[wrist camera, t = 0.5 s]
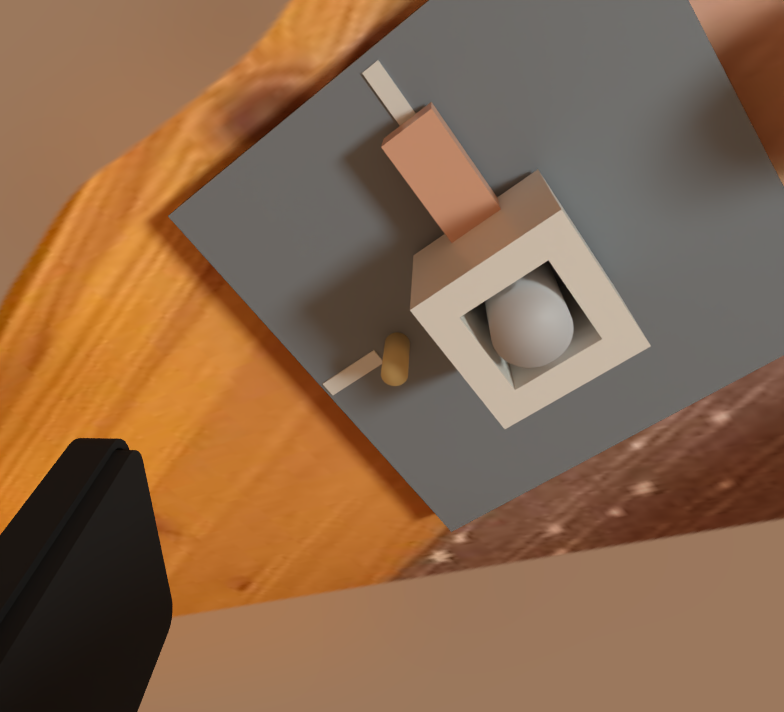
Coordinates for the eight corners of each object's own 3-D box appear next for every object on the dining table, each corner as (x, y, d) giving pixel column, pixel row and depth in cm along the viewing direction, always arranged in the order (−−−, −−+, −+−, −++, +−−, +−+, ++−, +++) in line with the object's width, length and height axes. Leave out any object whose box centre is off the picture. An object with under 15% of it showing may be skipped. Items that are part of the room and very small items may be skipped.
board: (829, 301, 34) (944, 393, 26) (450, 508, 41) (455, 627, 33) (599, -141, 26) (668, -194, 19) (181, 203, 33) (107, 268, 26)
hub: (613, 285, 32) (651, 346, 26) (493, 359, 34) (504, 429, 28) (473, 69, 28) (482, 89, 22) (346, 167, 30) (327, 207, 24)
